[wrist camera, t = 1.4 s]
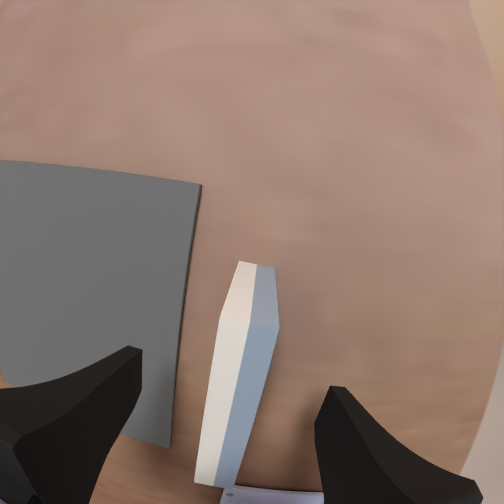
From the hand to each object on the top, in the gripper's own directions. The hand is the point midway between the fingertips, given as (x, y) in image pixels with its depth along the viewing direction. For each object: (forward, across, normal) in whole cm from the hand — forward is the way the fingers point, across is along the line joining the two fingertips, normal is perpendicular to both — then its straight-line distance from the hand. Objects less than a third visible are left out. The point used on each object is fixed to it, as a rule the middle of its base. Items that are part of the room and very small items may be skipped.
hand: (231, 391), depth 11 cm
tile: (+4, 0, 0) cm, 4 cm away
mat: (+4, +10, +1) cm, 11 cm away
